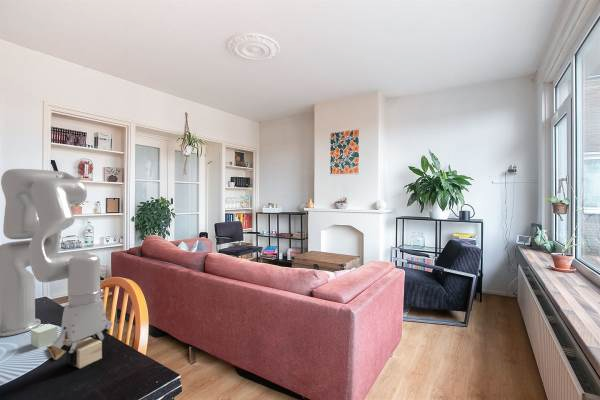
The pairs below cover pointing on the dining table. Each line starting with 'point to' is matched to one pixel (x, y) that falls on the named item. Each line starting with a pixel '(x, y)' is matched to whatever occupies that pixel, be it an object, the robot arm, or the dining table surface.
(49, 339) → the sage block
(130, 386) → the dining table surface
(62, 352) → the shard
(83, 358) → the beige metal block
